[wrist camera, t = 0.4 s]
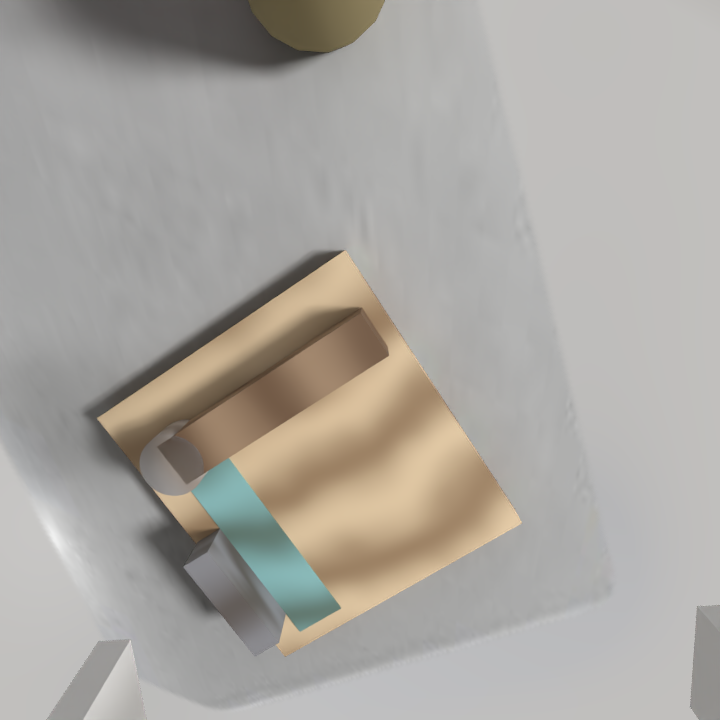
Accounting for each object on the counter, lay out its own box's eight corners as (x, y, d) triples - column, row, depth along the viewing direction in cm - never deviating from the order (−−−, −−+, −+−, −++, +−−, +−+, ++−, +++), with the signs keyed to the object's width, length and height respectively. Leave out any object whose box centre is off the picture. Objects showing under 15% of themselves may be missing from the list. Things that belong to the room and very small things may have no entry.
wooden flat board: (111, 409, 38) (72, 433, 33) (345, 250, 35) (341, 251, 30) (289, 637, 42) (278, 689, 37) (514, 509, 39) (535, 547, 34)
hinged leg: (182, 485, 37) (166, 507, 34) (146, 439, 36) (126, 456, 33) (391, 352, 34) (393, 362, 31) (357, 300, 34) (355, 305, 31)
